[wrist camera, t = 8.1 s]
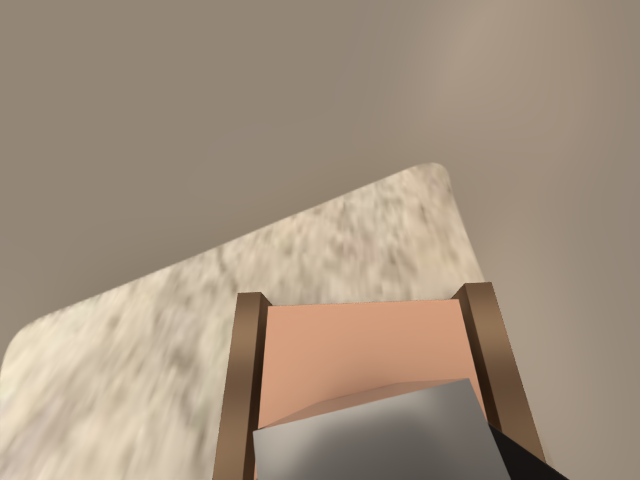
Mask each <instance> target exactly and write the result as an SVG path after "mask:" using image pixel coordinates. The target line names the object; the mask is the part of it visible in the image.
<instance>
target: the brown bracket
mask: <svg viewBox="0 0 640 480" xmlns="http://www.w3.org/2000/svg"><path fill="white" fill-rule="evenodd" d="M451 299H459V304H460V308H461V312H462V316H463V320H464V324H465V329H466V333H467V337H468V341H469V345H470V350H471V354H472V358H473V362H474V366H475V371H476V375H477V379H478V383H479V387H480V391H481V396H482V400H483V404H484V408H485V412H486V417H487V421H488V423H490V424H491V425H492V426H494V427H495V428H497V429H498V430H499V431H501V432H502V433H504V434H505V435H507V436H508V437H509V438H511V439H512V440H514V441H515V442H516V443H518V444H519V445H521V446H522V447H523V448H525V449H526V450H528V451H529V452H531V453H532V454H533V455H535V456H536V457H538V458H539V459H540V460H542V461H543V462H545V463H546V461H545V457H544V454H543V451H542V447H541V444H540V441H539V438H538V434H537V431H536V428H535V424H534V421H533V418H532V414H531V411H530V408H529V405H528V401H527V398H526V395H525V391H524V388H523V385H522V382H521V378H520V375H519V372H518V368H517V365H516V362H515V358H514V355H513V352H512V349H511V345H510V342H509V339H508V335H507V332H506V329H505V325H504V322H503V319H502V316H501V312H500V309H499V306H498V303H497V299H496V296H495V292H494V289H493V286H492V283H491V282H484V283H465V284H464V285H463V286H462V287H461V288H460V289H459V290H458V291H457V293H456V294H455V295H454V296H453V297H452V298H451ZM268 306H273V305H272V304H271V303H270V302H269V301H268V300H267V299H266V297H265V296H264V295H263V294H262V293H261V292H251V293H238V296H237V303H236V311H235V318H234V325H233V333H232V340H231V347H230V354H229V362H228V369H227V376H226V384H225V391H224V398H223V405H222V413H221V420H220V427H219V435H218V442H217V449H216V457H215V464H214V471H213V478H212V480H254V472H255V460H256V459H255V449H254V438H253V431H255V430H257V429H258V424H259V412H260V400H261V388H262V376H263V364H264V352H265V340H266V328H267V316H268Z"/></svg>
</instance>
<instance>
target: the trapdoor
mask: <svg viewBox="0 0 640 480" xmlns="http://www.w3.org/2000/svg"><path fill="white" fill-rule="evenodd" d="M462 378H469V379H470V382H471V384H472V387H473V389H474V391H475V394H476V396H477V399H478V401H479V404H480V406H481V408H482V411H483V413H484V416H485V418H486V421H487V417H486V412H485V408H484V404H483V400H482V396H481V391H480V387H479V383H478V379H477V375H476V371H475V366H474V362H473V358H472V354H471V350H470V345H469V341H468V337H467V333H466V329H465V324H464V320H463V316H462V312H461V308H460V304H459V299H448V300H422V301H396V302H369V303H343V304H316V305H290V306H268V316H267V328H266V340H265V352H264V364H263V376H262V388H261V400H260V412H259V424H258V429H260V428H262V427H264V426H266V425H269V424H271V423H273V422H275V421H277V420H280V419H282V418H284V417H286V416H289V415H291V414H293V413H295V412H297V411H300V410H302V409H304V408H306V407H309V406H311V405H313V404H315V403H318V402H322V401H326V400H330V399H334V398H338V397H342V396H346V395H350V394H354V393H358V392H362V391H366V390H371V389H375V388H379V387H383V386H387V385H391V384H395V383H403V382H418V381H433V380H447V379H462ZM487 422H488V421H487ZM256 479H257V470H256V460H255V472H254V480H256Z"/></svg>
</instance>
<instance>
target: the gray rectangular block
mask: <svg viewBox="0 0 640 480" xmlns="http://www.w3.org/2000/svg"><path fill="white" fill-rule="evenodd" d="M253 438H254V449H255V459H256V470H257V480H511V479H510V476H509V474H508V472H507V469H506V467H505V464H504V462H503V459H502V457H501V455H500V452H499V450H498V447H497V445H496V442H495V440H494V438H493V435H492V433H491V430H490V428H489V425H488V423H487V421H486V418H485V416H484V413H483V411H482V408H481V406H480V404H479V401H478V399H477V396H476V394H475V391H474V389H473V387H472V384H471V382H470V379H469V378H462V379H447V380H433V381H418V382H403V383H395V384H391V385H387V386H383V387H379V388H375V389H371V390H366V391H362V392H358V393H354V394H350V395H346V396H342V397H338V398H334V399H330V400H326V401H322V402H318V403H315V404H313V405H311V406H309V407H306V408H304V409H302V410H300V411H297V412H295V413H293V414H291V415H289V416H286V417H284V418H282V419H280V420H277V421H275V422H273V423H271V424H269V425H266V426H264V427H262V428H260V429H257V430H255V431H253Z"/></svg>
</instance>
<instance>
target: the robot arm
mask: <svg viewBox="0 0 640 480" xmlns="http://www.w3.org/2000/svg"><path fill="white" fill-rule="evenodd" d="M487 423H488V422H487ZM488 425H489V428H490V430H491V433H492V435H493V438H494V440H495V442H496V445H497V447H498V450H499V452H500V455H501V457H502V459H503V462H504V464H505V467H506V469H507V472H508V474H509V476H510V479H511V480H569V479H567V478H566V477H564V476H563V475H562V474H560V473H559V472H557V471H556V470H555V469H553V468H552V467H550V466H549V465H548V464H546V463H545V462H543V461H542V460H540V459H539V458H538V457H536V456H535V455H533V454H532V453H531V452H529V451H528V450H526V449H525V448H523V447H522V446H521V445H519V444H518V443H516V442H515V441H514V440H512V439H511V438H509V437H508V436H507V435H505V434H504V433H502V432H501V431H499V430H498V429H497V428H495V427H494V426H492V425H491V424H490V423H488ZM256 480H257V479H256Z"/></svg>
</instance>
